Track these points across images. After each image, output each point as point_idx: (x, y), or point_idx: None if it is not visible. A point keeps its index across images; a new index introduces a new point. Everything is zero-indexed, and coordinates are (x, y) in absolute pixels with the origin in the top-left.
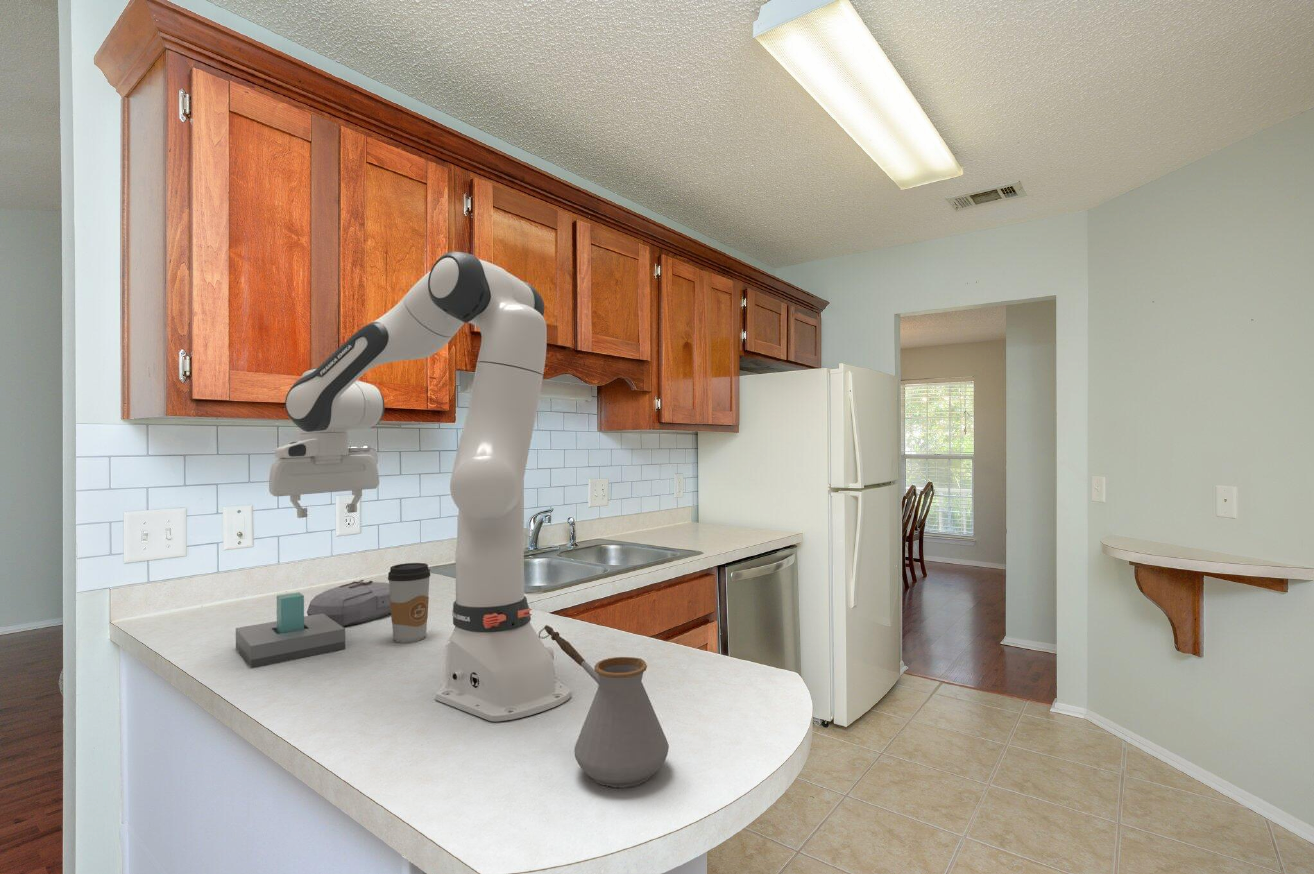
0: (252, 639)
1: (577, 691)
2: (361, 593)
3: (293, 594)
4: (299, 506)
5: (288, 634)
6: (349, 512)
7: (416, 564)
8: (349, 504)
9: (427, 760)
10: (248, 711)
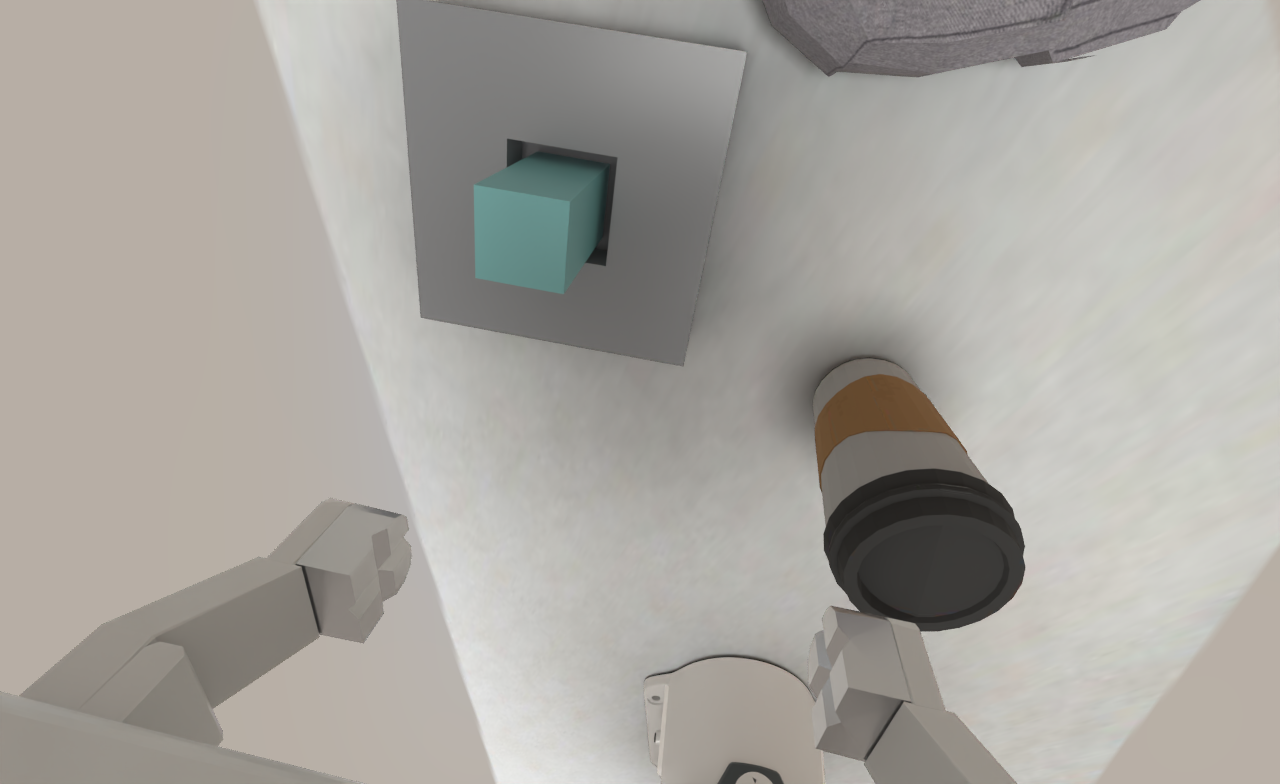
0: (432, 245)
1: None
2: (988, 25)
3: (537, 230)
4: (270, 654)
5: None
6: (809, 651)
7: (1002, 552)
8: (817, 746)
9: (552, 751)
10: (416, 521)
